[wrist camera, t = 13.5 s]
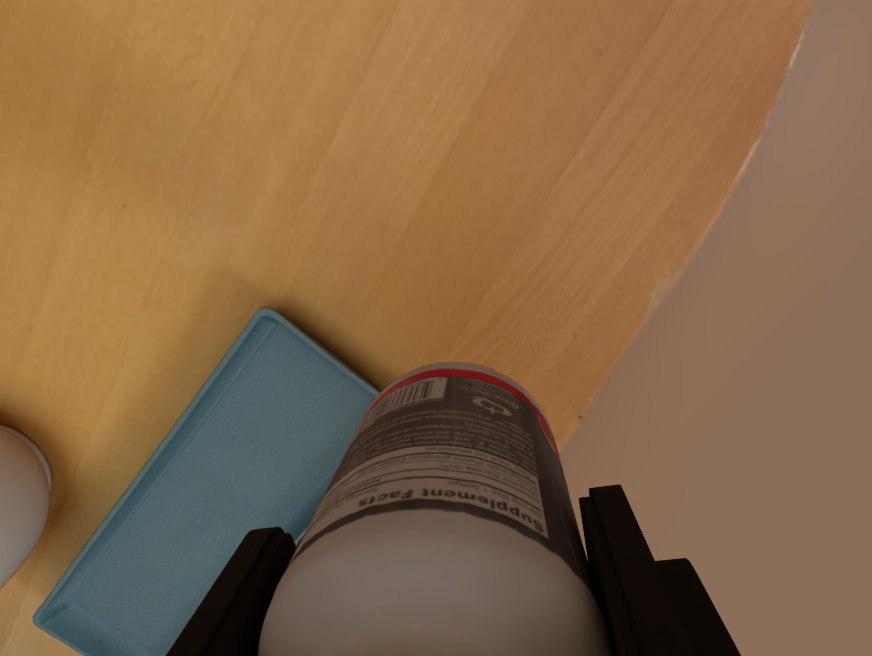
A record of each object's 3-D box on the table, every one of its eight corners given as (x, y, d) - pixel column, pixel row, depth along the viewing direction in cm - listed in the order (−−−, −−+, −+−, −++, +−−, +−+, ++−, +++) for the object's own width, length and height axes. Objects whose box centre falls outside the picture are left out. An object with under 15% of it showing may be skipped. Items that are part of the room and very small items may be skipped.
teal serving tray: (174, 672, 34) (151, 709, 31) (55, 594, 33) (22, 627, 30) (421, 400, 27) (416, 421, 25) (282, 290, 26) (262, 301, 23)
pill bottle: (543, 538, 15) (647, 1159, 5) (361, 519, 15) (163, 1069, 6) (566, 363, 13) (764, 810, 4) (362, 348, 14) (94, 719, 4)
